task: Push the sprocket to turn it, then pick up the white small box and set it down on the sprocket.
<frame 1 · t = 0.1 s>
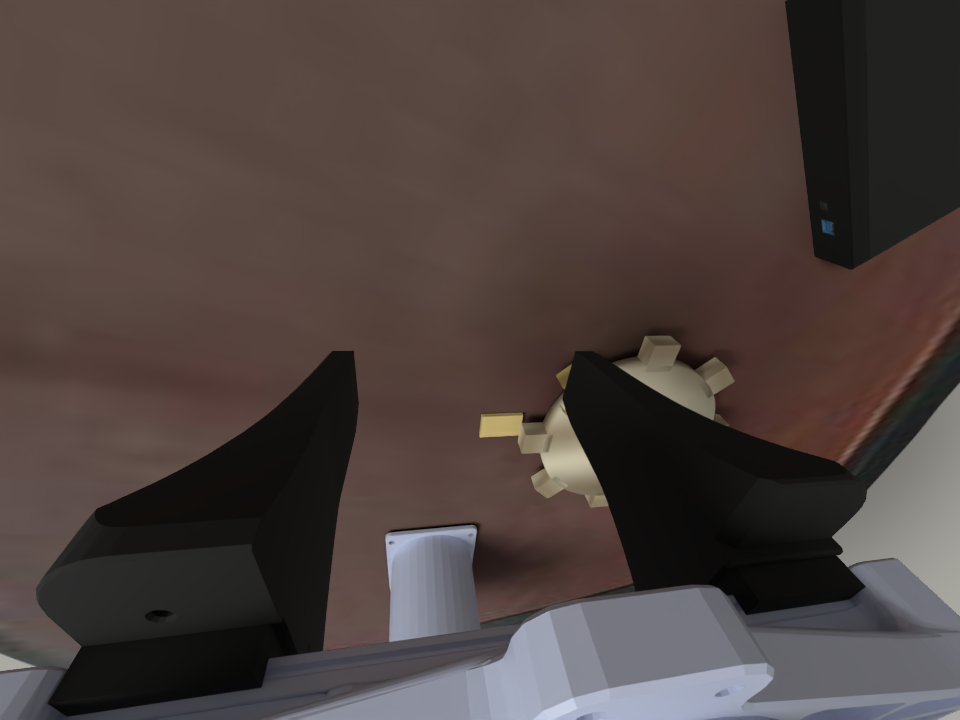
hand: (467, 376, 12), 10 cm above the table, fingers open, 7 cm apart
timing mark: (500, 423, 28), on the table
sprocket: (639, 454, 26), point 4 cm above the table, hinge at 0.0°
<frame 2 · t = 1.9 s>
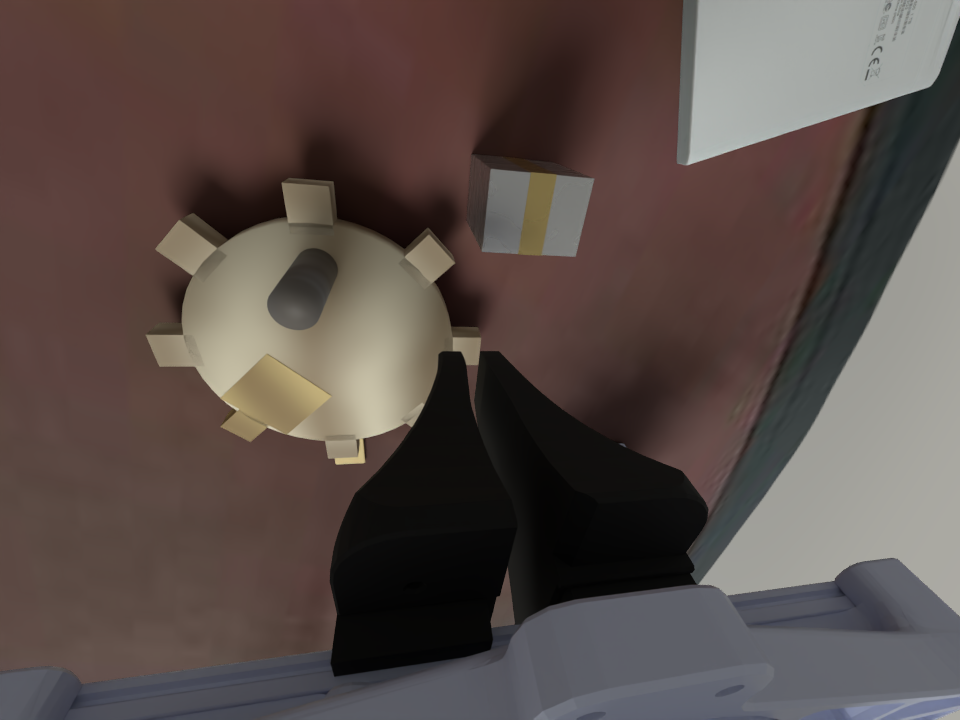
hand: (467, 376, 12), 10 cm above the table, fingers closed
external hard drive 2: (800, 25, 18), on the table
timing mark: (349, 445, 27), on the table
sprocket: (323, 367, 18), point 4 cm above the table, hinge at 0.0°
white small box: (508, 191, 19), on the table
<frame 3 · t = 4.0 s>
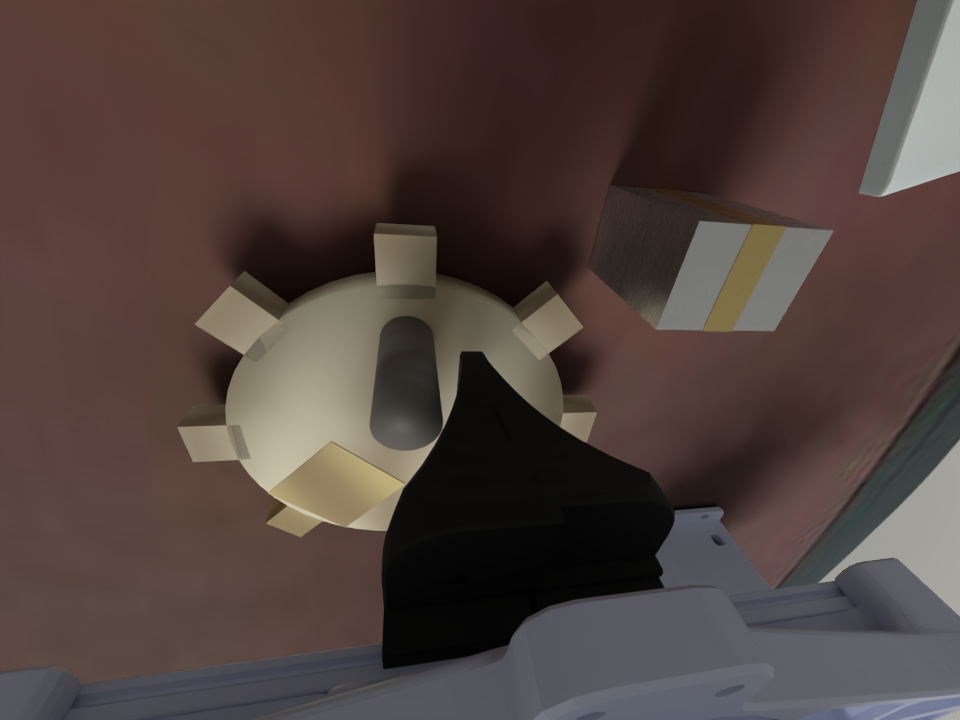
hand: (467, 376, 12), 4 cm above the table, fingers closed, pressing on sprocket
sprocket: (408, 464, 14), point 4 cm above the table, hinge at 0.2°, touching gripper
white small box: (646, 231, 14), on the table
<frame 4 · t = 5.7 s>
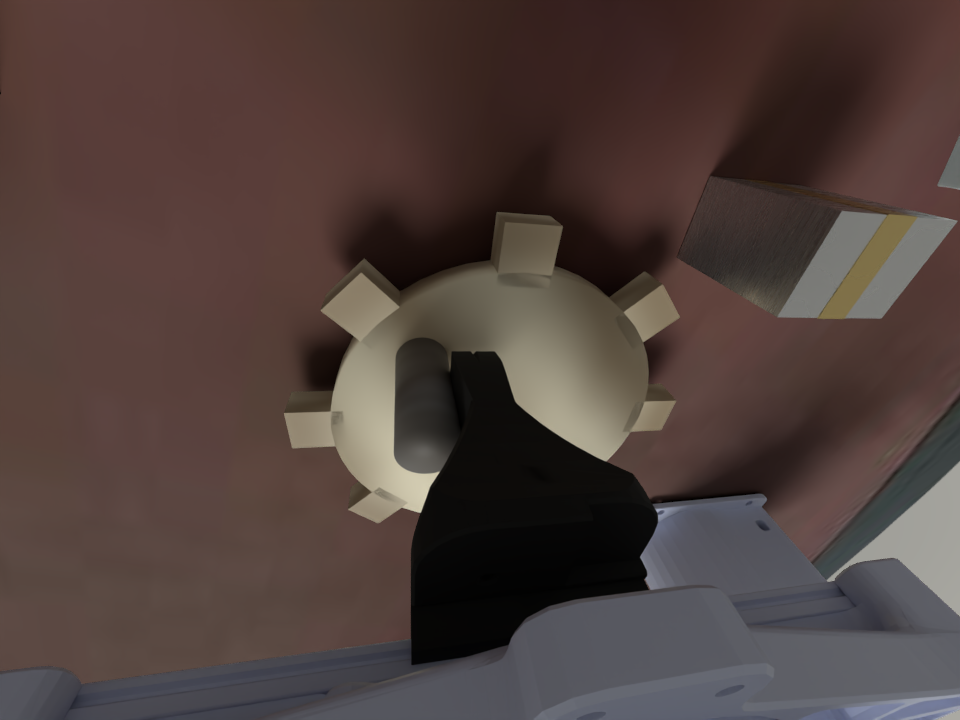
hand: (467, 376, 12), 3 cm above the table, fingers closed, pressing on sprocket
sprocket: (506, 450, 14), point 4 cm above the table, hinge at 44.7°, touching gripper
white small box: (737, 222, 15), on the table
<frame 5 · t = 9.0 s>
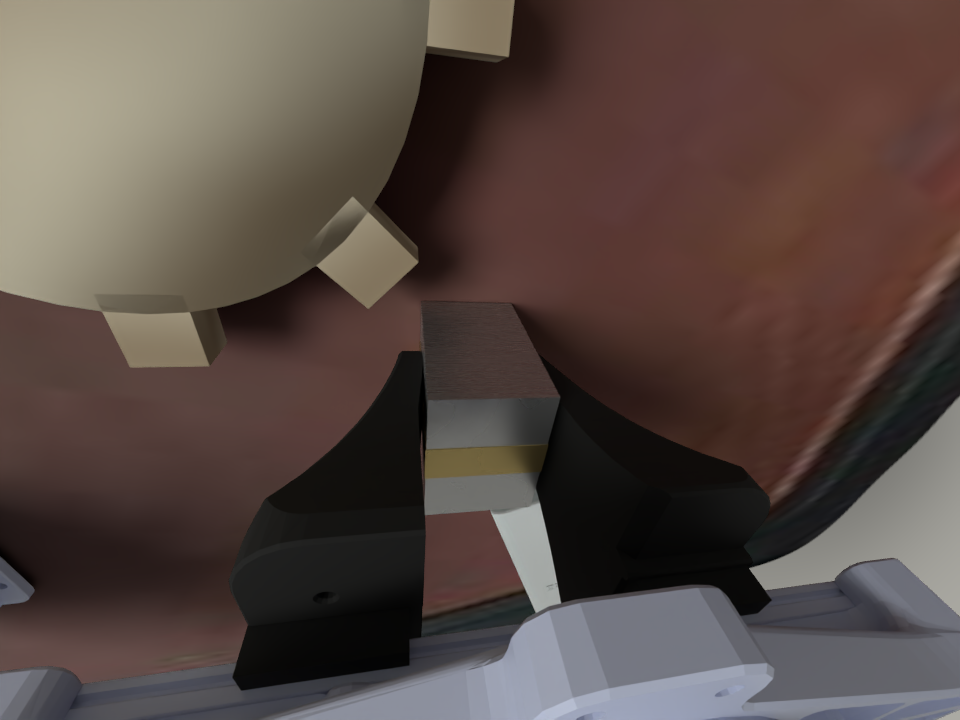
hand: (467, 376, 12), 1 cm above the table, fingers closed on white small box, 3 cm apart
external hard drive 2: (576, 526, 23), on the table
white small box: (462, 353, 14), on the table, touching gripper
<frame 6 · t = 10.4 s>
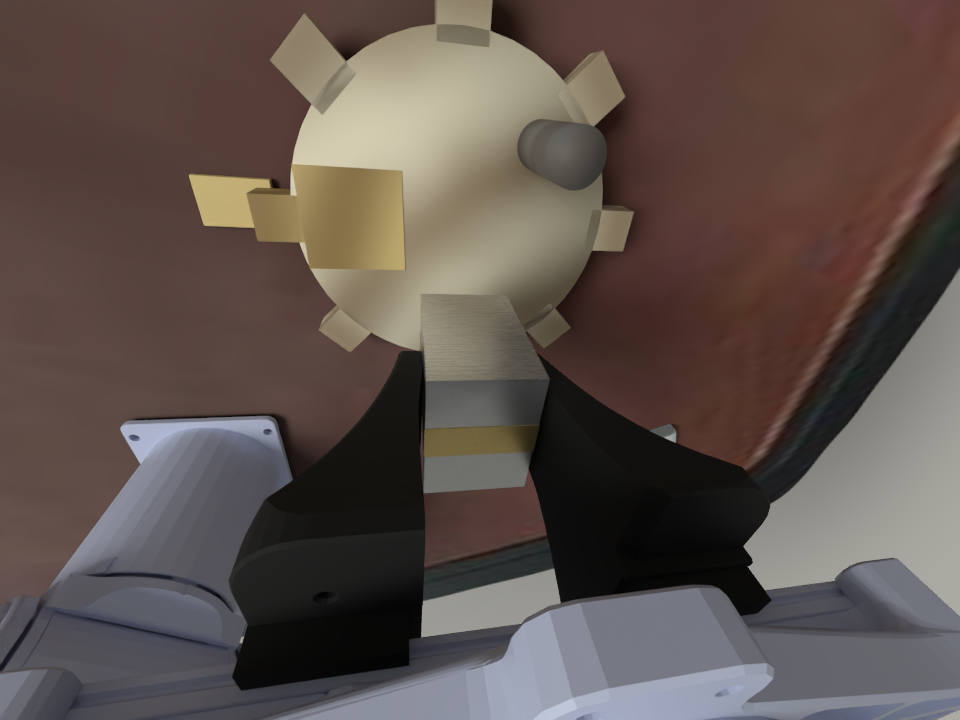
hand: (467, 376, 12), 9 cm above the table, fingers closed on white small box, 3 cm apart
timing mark: (238, 201, 16), on the table
sprocket: (459, 235, 15), point 4 cm above the table, hinge at 45.7°
white small box: (460, 344, 14), point 7 cm above the table, touching gripper
when the fingers open (5 cm above the table, at t = 11.9 s): white small box stays where it is, resting on sprocket.
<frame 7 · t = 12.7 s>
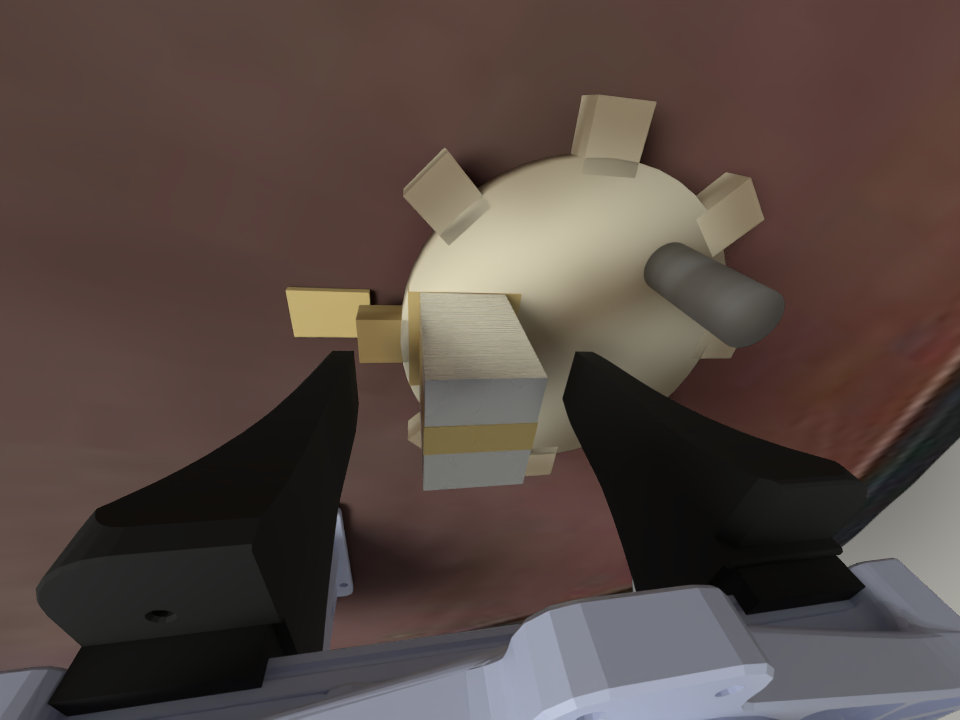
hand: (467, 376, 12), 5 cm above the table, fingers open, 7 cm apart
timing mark: (332, 311, 15), on the table
sprocket: (581, 362, 14), point 4 cm above the table, hinge at 45.7°, touching white small box
white small box: (459, 342, 14), point 2 cm above the table, touching sprocket
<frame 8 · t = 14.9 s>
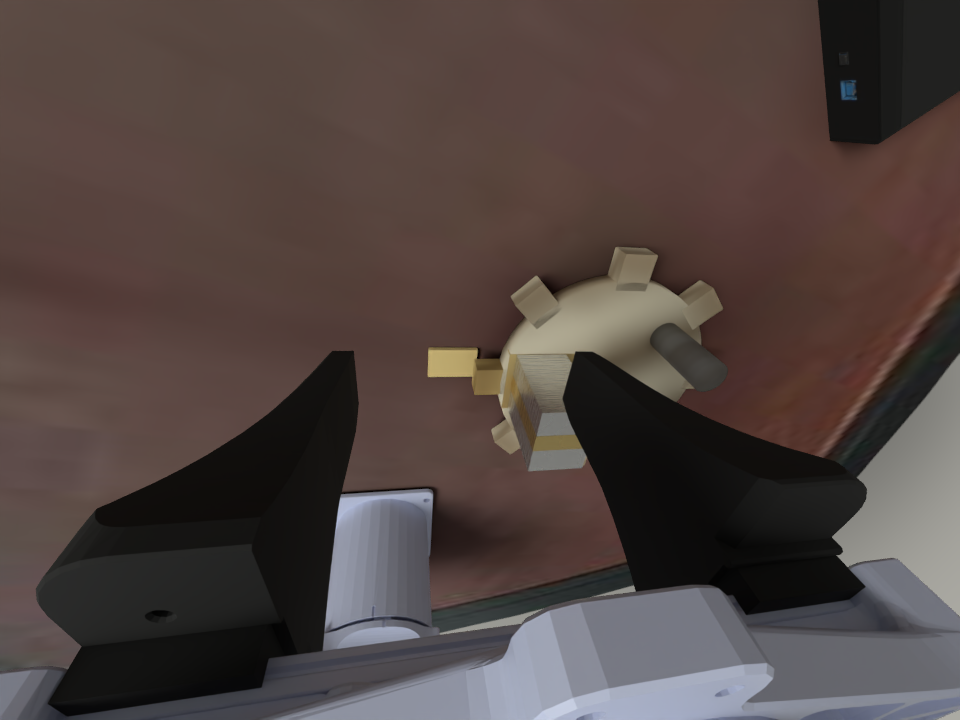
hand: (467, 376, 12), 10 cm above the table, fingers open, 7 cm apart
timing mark: (452, 361, 24), on the table
sprocket: (611, 395, 23), point 4 cm above the table, hinge at 45.7°, touching white small box
white small box: (535, 382, 23), point 2 cm above the table, touching sprocket
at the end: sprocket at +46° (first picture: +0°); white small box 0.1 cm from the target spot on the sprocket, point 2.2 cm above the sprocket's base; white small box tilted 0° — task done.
